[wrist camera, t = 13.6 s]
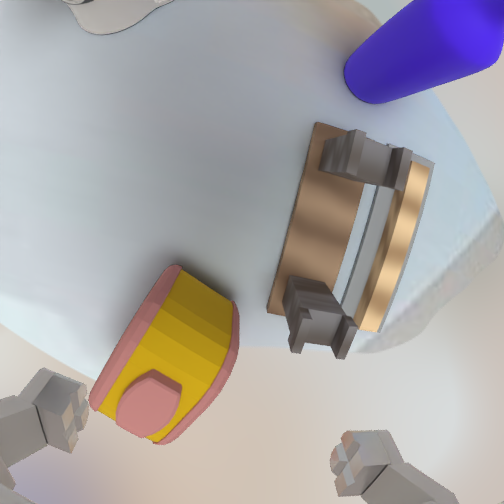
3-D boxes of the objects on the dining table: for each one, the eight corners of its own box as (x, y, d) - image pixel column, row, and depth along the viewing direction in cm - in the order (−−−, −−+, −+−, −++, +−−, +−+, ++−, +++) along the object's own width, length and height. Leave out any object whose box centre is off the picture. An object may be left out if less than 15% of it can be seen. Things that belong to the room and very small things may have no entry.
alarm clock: (178, 249, 42) (133, 315, 23) (245, 294, 44) (248, 383, 25) (120, 341, 46) (72, 425, 27) (179, 377, 48) (156, 471, 29)
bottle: (341, 100, 37) (503, 19, 8) (341, 46, 35) (468, -77, 6) (396, 110, 37) (575, 75, 8) (395, 58, 35) (548, -19, 6)
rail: (401, 160, 38) (412, 160, 36) (418, 167, 39) (430, 168, 36) (352, 319, 45) (359, 329, 42) (369, 322, 45) (376, 332, 42)
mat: (387, 144, 39) (389, 143, 38) (431, 162, 39) (434, 163, 39) (333, 323, 46) (334, 325, 45) (378, 330, 46) (379, 332, 45)
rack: (315, 123, 38) (350, 104, 24) (370, 141, 38) (424, 135, 25) (266, 308, 44) (276, 366, 31) (319, 317, 45) (345, 374, 32)
